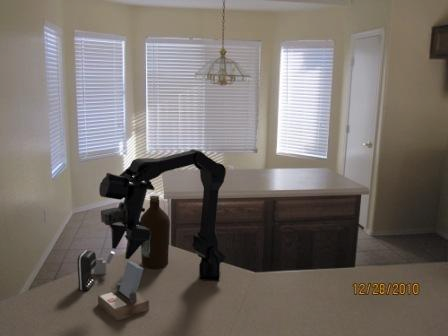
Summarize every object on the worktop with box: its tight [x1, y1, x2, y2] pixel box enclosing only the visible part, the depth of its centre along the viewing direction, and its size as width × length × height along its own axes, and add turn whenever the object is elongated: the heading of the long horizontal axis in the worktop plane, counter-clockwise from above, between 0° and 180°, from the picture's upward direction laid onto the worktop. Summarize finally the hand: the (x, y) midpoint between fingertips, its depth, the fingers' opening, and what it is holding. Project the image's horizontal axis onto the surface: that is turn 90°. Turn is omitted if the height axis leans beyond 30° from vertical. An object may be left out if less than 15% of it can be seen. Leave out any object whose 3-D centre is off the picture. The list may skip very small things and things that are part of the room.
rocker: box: [119, 261, 144, 298], centre depth 133 cm, size 2×6×10 cm, turn 42°
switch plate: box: [100, 292, 126, 309], centre depth 130 cm, size 4×9×1 cm, turn 41°
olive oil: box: [138, 195, 171, 270], centre depth 161 cm, size 11×11×25 cm
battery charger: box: [76, 249, 97, 291], centre depth 144 cm, size 7×4×11 cm, turn 174°
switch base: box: [97, 282, 150, 322], centre depth 132 cm, size 10×12×5 cm
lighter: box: [93, 250, 116, 275], centre depth 154 cm, size 7×2×8 cm, turn 91°
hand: (120, 253), depth 132 cm, fingers open, 9 cm apart
